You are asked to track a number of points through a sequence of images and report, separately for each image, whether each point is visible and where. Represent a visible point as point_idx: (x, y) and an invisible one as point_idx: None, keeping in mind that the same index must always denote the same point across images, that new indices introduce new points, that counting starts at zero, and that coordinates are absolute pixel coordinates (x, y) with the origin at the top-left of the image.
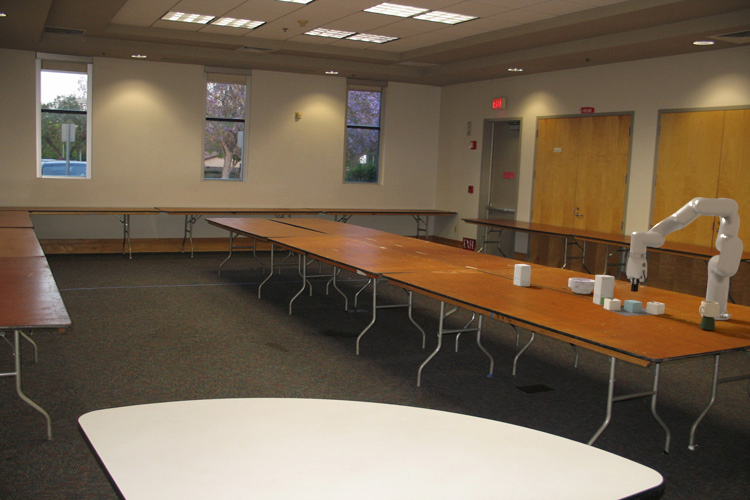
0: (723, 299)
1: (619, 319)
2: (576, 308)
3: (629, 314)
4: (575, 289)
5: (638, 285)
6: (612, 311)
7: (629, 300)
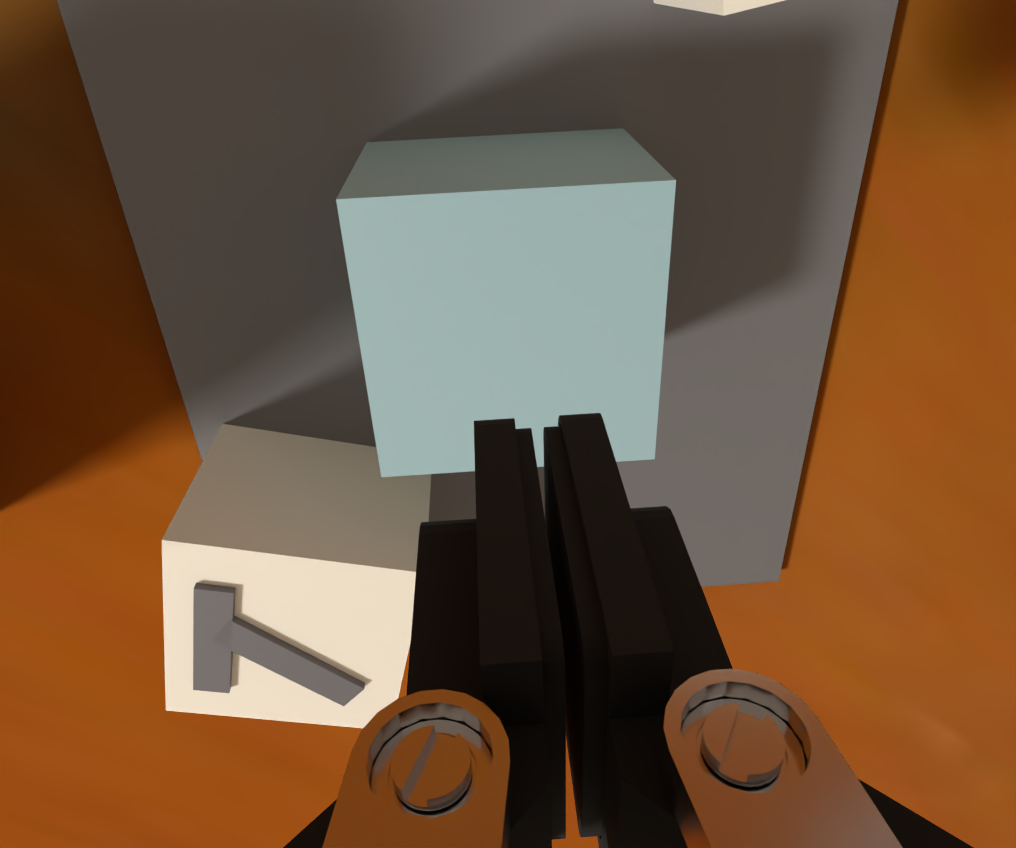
0: None
1: (838, 706)
2: (235, 828)
3: (716, 487)
4: None
5: (648, 581)
6: None
7: (393, 366)
